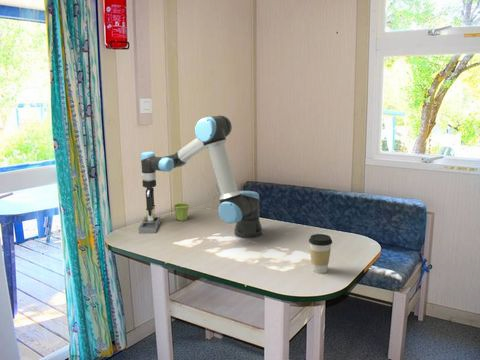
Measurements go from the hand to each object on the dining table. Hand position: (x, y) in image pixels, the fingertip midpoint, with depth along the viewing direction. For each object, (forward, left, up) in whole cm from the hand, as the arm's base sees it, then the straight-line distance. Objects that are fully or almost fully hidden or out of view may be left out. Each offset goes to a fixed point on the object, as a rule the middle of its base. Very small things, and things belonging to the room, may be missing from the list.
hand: (151, 219), depth 261 cm
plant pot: (-17, -8, -3) cm, 19 cm away
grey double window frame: (0, +5, -3) cm, 6 cm away
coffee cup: (-83, +70, -3) cm, 108 cm away
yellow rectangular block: (0, 0, 0) cm, 0 cm away
